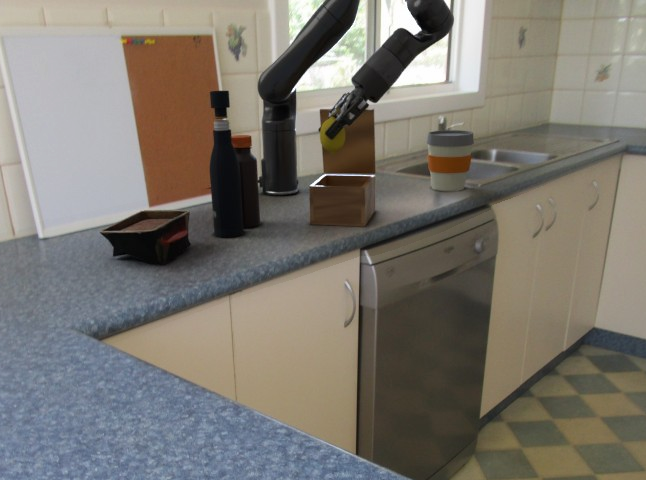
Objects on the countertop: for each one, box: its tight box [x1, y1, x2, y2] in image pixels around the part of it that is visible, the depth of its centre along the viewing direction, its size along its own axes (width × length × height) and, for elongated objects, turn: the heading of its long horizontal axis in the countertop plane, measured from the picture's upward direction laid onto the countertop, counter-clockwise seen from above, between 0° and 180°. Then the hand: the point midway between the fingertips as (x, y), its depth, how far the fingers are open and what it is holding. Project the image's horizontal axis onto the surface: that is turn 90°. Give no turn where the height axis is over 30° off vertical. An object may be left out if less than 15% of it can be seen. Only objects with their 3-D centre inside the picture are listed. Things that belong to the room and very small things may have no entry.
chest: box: [308, 173, 376, 227], centre depth 155 cm, size 15×13×9 cm
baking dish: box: [99, 209, 192, 266], centre depth 132 cm, size 14×18×10 cm
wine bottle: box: [209, 90, 245, 239], centre depth 140 cm, size 6×6×30 cm
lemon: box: [319, 117, 345, 154], centre depth 144 cm, size 6×6×8 cm
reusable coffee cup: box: [426, 129, 475, 192], centre depth 183 cm, size 13×13×15 cm
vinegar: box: [231, 134, 261, 229], centre depth 149 cm, size 7×7×20 cm
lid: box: [319, 108, 377, 175], centre depth 158 cm, size 15×13×5 cm
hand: (324, 135), depth 144 cm, fingers closed on lemon, 5 cm apart
